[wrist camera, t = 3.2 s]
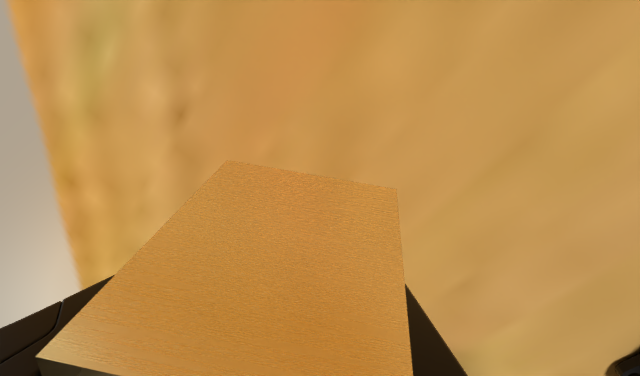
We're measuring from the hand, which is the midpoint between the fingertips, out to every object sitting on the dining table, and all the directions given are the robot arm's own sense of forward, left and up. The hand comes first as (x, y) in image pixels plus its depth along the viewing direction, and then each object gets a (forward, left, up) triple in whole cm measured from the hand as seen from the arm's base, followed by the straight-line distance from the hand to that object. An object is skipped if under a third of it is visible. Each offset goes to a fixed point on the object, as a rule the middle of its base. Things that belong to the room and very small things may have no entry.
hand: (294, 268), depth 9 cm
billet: (0, 0, -1) cm, 1 cm away
